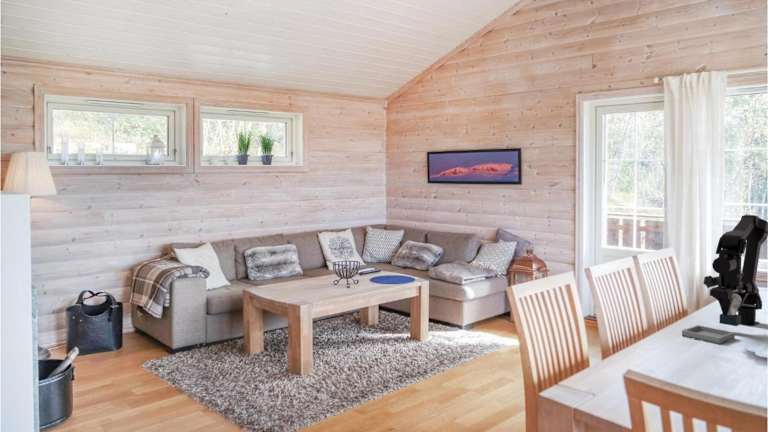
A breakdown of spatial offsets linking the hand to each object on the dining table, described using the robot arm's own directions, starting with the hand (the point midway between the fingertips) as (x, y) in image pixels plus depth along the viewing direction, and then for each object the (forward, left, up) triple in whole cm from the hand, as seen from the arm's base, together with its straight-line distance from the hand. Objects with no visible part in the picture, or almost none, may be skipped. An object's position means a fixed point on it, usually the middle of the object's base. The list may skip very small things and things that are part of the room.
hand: (730, 313), depth 213 cm
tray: (+11, -2, -7) cm, 14 cm away
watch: (0, 0, -4) cm, 4 cm away
